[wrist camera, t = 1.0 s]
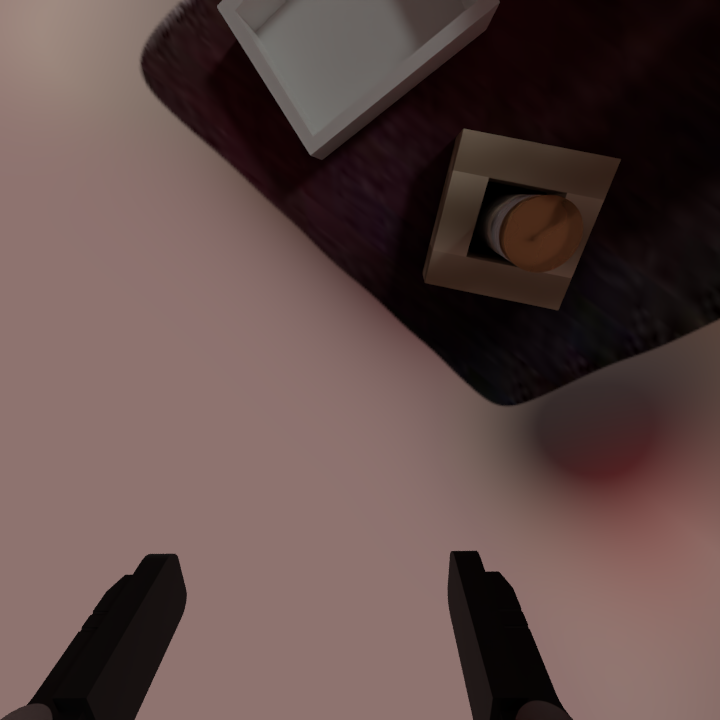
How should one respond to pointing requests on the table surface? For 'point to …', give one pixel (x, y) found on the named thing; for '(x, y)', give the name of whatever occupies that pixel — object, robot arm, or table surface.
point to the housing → (520, 169)
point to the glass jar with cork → (530, 229)
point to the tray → (349, 55)
